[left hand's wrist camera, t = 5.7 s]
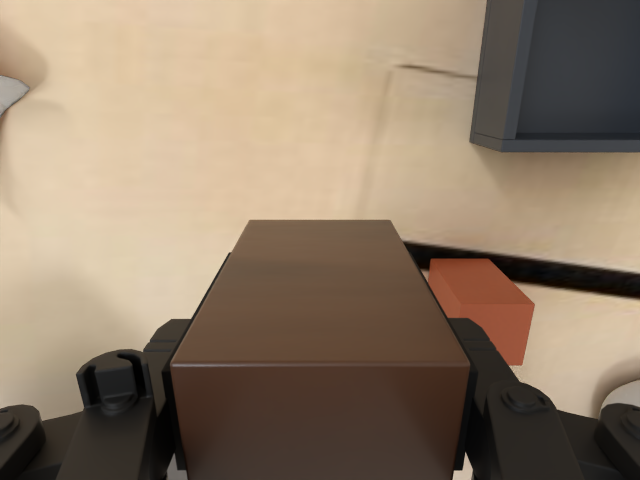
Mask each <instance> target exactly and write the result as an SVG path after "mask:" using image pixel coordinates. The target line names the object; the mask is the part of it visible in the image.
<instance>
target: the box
mask: <svg viewBox="0 0 640 480" xmlns="http://www.w3.org/2000/svg"><path fill="white" fill-rule="evenodd" d="M470 142H471V143H474V144H477V145H480V146H484V147H487V148H490V149H493V150H496V151H499V152H640V0H487V7H486V15H485V23H484V30H483V38H482V46H481V54H480V62H479V70H478V78H477V86H476V94H475V102H474V110H473V118H472V126H471V134H470Z"/></svg>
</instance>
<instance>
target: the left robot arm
mask: <svg viewBox="0 0 640 480" xmlns="http://www.w3.org/2000/svg"><path fill="white" fill-rule="evenodd" d="M230 254H231V253H229V254H228V255H227V257H226V259H225V261H224V262H223V264H222V266H221V268H220V269H219V271H218V273H217V275H216V276H215V278H214V280H213V282H212V283H211V285H210V287H209V289H208V290H207V292H206V294H205V296H204V297H203V299H202V301H201V303H200V304H199V306H198V308H197V310H196V311H195V313H194V315H193V317H192V318H191V319H171V320H170V321H168V322H167V323H165V324H164V325H163V326H161V327H160V328H158V329H157V331H156V332H155V334H154V335H153V337H152V338H151V339H150V343H148V344H147V345H146V347H145V348H144V350H143V352H141V351H137V350H133V349H124V350H116V351H112V352H107V353H104V354H102V355H100V356H97V357H95V358H93V359H92V360H90V361H89V362H87V363H86V364H84V365H83V366H82V367H81V368H80V370H79V371H78V372H77V373H76V377H77V381H78V385H79V388H80V392H81V396H82V400H83V404H84V410H83V411H82V412H78V413H75V414H72V415H67V416H63V417H58V418H54V419H49V420H45V421H42V420H41V417H40V413H39V411H38V410H37V409H36V408H34V407H33V406H28V405H15V406H8V407H5V408H1V409H0V480H188V479H187V473H186V466H185V460H184V453H183V447H182V441H181V434H180V428H179V421H178V415H177V408H176V402H175V395H174V389H173V383H172V376H171V370H170V363H171V360H172V359H173V357H174V355H175V353H176V351H177V350H178V348H179V346H180V344H181V342H182V341H183V339H184V337H185V335H186V333H187V332H188V330H189V328H190V326H191V324H192V323H193V321H194V319H195V317H196V315H197V314H198V312H199V310H200V308H201V306H202V305H203V303H204V301H205V299H206V297H207V296H208V294H209V292H210V290H211V288H212V287H213V285H214V283H215V281H216V279H217V278H218V276H219V274H220V272H221V270H222V269H223V267H224V265H225V263H226V261H227V260H228V258H229V256H230ZM409 254H410V256H411V258H412V260H413V262H414V263H415V265H416V267H417V269H418V271H419V272H420V274H421V276H422V278H423V280H424V281H425V283H426V285H427V287H428V289H429V290H430V292H431V294H432V296H433V298H434V299H435V301H436V303H437V305H438V306H439V308H440V310H441V312H442V314H443V315H444V317H445V319H446V321H447V323H448V324H449V326H450V328H451V330H452V332H453V333H454V335H455V337H456V339H457V341H458V342H459V344H460V346H461V348H462V350H463V351H464V353H465V355H466V357H467V358H468V360H469V362H470V370H469V376H468V383H467V389H466V396H465V402H464V408H463V415H462V421H461V428H460V434H459V441H458V447H457V453H456V460H455V466H454V470H463V464H464V457H465V451H466V454H467V456H468V459H469V461H470V463H471V466H472V468H473V473H472V479H471V480H640V407H638V406H635V405H631V404H624V403H613V404H607V405H606V406H605V407H604V408H602V409H601V412H600V415H599V419H594V418H589V417H585V416H580V415H576V414H571V413H567V412H564V411H560V410H557V409H556V407H555V405H554V404H553V402H552V401H551V400H550V398H549V397H547V396H546V395H545V394H544V393H542V392H541V391H540V390H538V389H536V388H534V387H532V386H530V385H528V384H525V383H521V382H519V380H518V379H517V377H516V376H515V374H514V373H513V371H512V370H511V369H510V367H509V366H508V364H507V363H506V361H505V360H504V358H503V357H502V356H501V354H500V353H499V351H497V350H496V347H495V345H494V344H493V343H492V341H490V338H489V337H488V335H487V334H486V333H485V331H484V330H483V328H482V327H481V326H479V325H478V324H476V323H475V322H473V321H472V320H471V319H469V318H448V317H447V315H446V314H445V312H444V310H443V308H442V307H441V305H440V303H439V301H438V300H437V298H436V296H435V294H434V293H433V291H432V289H431V287H430V286H429V284H428V282H427V280H426V279H425V277H424V275H423V273H422V272H421V270H420V268H419V266H418V265H417V263H416V261H415V259H414V258H413V256H412V254H411V253H409Z"/></svg>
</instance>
